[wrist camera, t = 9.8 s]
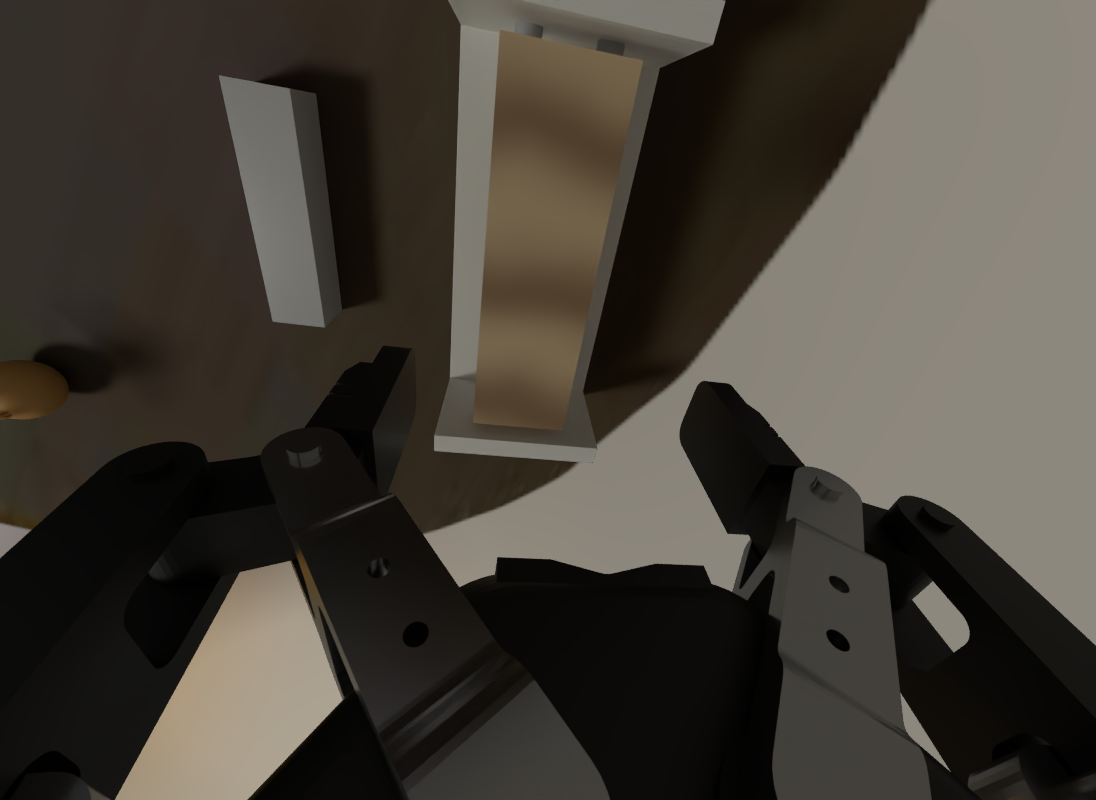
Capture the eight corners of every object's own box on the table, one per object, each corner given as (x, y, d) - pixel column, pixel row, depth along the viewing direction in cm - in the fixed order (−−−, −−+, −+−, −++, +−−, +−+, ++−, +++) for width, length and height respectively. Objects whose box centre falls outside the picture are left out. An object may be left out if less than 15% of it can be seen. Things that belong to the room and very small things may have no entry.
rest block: (254, 82, 21) (218, 75, 19) (316, 93, 22) (289, 88, 19) (295, 304, 28) (272, 321, 25) (342, 309, 28) (324, 327, 25)
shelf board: (501, 41, 17) (499, 29, 15) (628, 68, 18) (643, 60, 16) (476, 400, 27) (472, 422, 25) (559, 407, 27) (562, 430, 25)
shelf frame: (464, -3, 20) (438, -71, 13) (660, 41, 21) (725, 1, 15) (451, 383, 32) (434, 450, 25) (577, 395, 33) (593, 462, 26)
